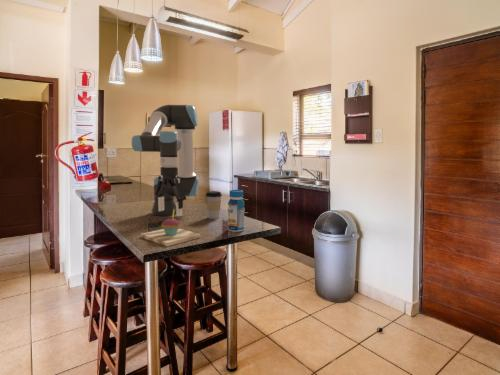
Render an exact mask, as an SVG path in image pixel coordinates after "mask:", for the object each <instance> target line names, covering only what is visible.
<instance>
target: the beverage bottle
mask: <svg viewBox="0 0 500 375" xmlns="http://www.w3.org/2000/svg"><path fill="white" fill-rule="evenodd" d="M243 197H244V190H242V189H231V190H229V198H230V199H229V200H228V203H227V205H228V208H227V218H228V219H227V223H228V224H227V230H228V231H229V232H234V233H235V232H238V233H239V232H240V233H241V232H242V231H244V230H245V212H246V210H245V209H246V208H245V205H246V204H245V201H244V199H243Z"/></svg>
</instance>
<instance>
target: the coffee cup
mask: <svg viewBox="0 0 500 375" xmlns="http://www.w3.org/2000/svg"><path fill="white" fill-rule="evenodd" d="M222 196H223V195H222V192H221V191H217V190H215V191H213V190H212V191H207V192H206V194H205V197H206V206H207V208H206V209H207V212H208V213H207V214H208V219H211V220H216V219H219V218H220V213H221V212H220V211H221V204H222Z"/></svg>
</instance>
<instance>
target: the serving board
mask: <svg viewBox="0 0 500 375" xmlns="http://www.w3.org/2000/svg"><path fill="white" fill-rule="evenodd" d="M140 238H141V239H145V240H147V241H151V242H153V243H157V244H159V245H162V246H165V247H170V246H174V245H178V244H181V243H185V242H189V241H192V240H196V239H200V238H201V233H197V232H194V231H190V230H186V229H182V228H180V227H179V228H178V230H177V234H176V235H171V236H169V235H166V233H165V231H164V229H163V228H161V229H158V230H152V231H148V232H142V233H140Z"/></svg>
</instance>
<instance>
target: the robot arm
mask: <svg viewBox="0 0 500 375" xmlns="http://www.w3.org/2000/svg"><path fill="white" fill-rule="evenodd" d="M198 121H199V120H198V113H197V109H196V107H195V106H194V105H191V104H165V105H161V106H160V107H157V108H156V109H154V110H153V111H152V112H151V114H150V116H149V120H148V122H147V125H146V126H145V127H144V129H143V130H142V132H141V134H138V135H137V134H136V135H133V136H132V138H131V147H132V150H133V151H135V152H138V153H139V152H141V153H142V152H143V153H145V152H148V153H149V152H151V153H153V152H154V153H160V156H159V157H160V166H161V167H160V175H158V176H156V177H155V178H154V179H153V198H154V199H153V205H152V207H151V215H153V216H156V217H157V216H158V217H159V216H160V217H167V216H173V209H174V210H175V211H174V215H176V217H180V216H183V208H184V201H186V200H187V197H188V198H191V197H196V196H197V194H198V190H199V183H200V178H199V177H197V173H195V172H194V170H195V169H194V141H193V140H194V138H193V135H194V133H193V132H194V131H195V130H196V127H198V124H199V123H198ZM166 126H167V127H168V126H174V130H175V131H170V130H169V131H168V130H166V131H165V130H163V128H165V127H166ZM162 130H163V131H162ZM175 198H176V201H175Z"/></svg>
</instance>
